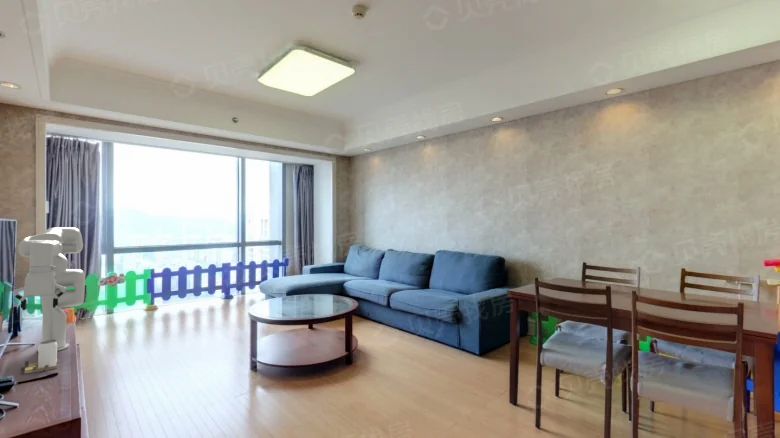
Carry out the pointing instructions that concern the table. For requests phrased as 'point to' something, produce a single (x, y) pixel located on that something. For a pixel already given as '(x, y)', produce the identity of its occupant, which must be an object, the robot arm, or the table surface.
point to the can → (47, 353)
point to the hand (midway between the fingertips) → (39, 308)
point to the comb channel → (36, 367)
